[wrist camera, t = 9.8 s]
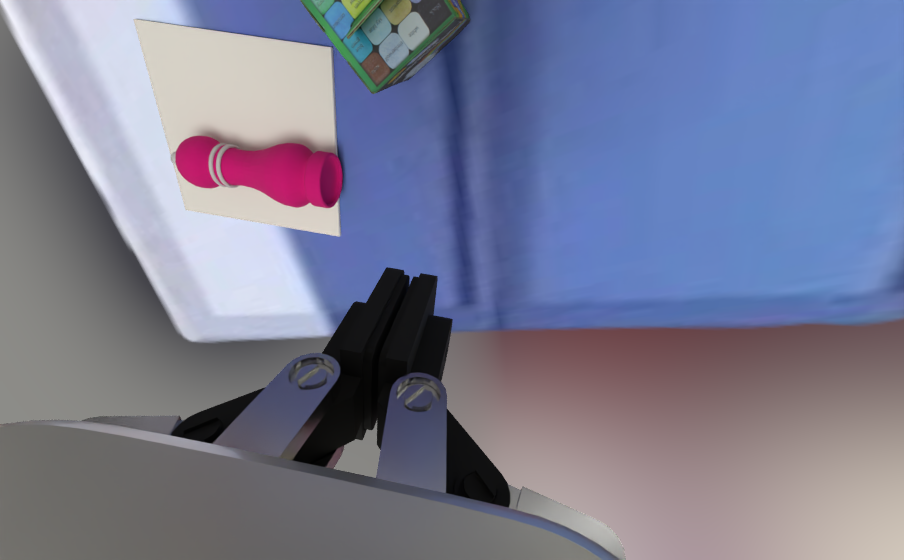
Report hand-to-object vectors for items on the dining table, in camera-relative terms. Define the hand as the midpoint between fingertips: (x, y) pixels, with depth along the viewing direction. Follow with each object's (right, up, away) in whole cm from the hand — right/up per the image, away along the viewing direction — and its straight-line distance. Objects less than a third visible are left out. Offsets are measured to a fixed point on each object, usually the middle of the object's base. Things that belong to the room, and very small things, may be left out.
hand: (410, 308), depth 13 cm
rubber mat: (-23, +18, +34) cm, 45 cm away
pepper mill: (-12, +12, +31) cm, 36 cm away
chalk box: (-3, +28, +25) cm, 38 cm away
